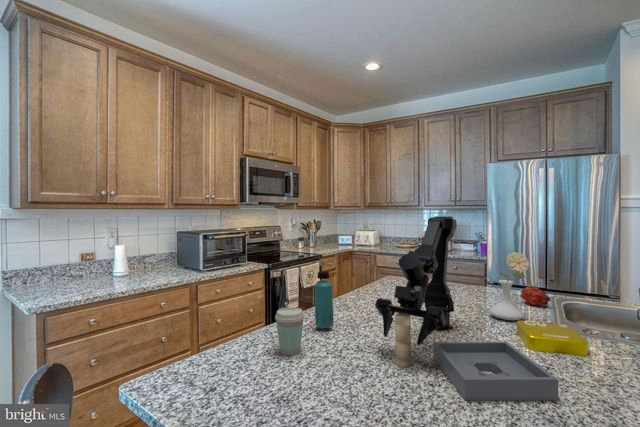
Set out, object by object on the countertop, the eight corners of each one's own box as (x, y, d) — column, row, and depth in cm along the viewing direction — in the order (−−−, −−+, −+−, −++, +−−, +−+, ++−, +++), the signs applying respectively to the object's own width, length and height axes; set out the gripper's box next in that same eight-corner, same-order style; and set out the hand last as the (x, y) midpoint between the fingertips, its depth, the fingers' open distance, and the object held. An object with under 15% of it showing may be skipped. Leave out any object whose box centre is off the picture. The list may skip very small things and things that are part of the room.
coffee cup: (308, 347, 98) (308, 308, 98) (297, 360, 90) (297, 316, 90) (283, 344, 101) (282, 305, 101) (270, 355, 93) (269, 314, 93)
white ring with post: (380, 301, 148) (380, 292, 148) (397, 303, 143) (397, 294, 143) (371, 305, 141) (371, 296, 141) (389, 308, 136) (388, 299, 136)
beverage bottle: (332, 332, 109) (331, 273, 109) (312, 331, 111) (312, 273, 110) (335, 326, 116) (334, 270, 115) (316, 325, 117) (316, 269, 117)
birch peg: (404, 359, 90) (404, 312, 89) (414, 365, 86) (413, 316, 86) (392, 361, 88) (392, 314, 88) (401, 368, 84) (400, 318, 84)
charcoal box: (433, 358, 90) (433, 341, 90) (506, 357, 90) (506, 341, 90) (464, 400, 70) (464, 379, 70) (558, 400, 70) (558, 379, 70)
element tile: (528, 351, 94) (528, 334, 94) (515, 332, 109) (515, 318, 108) (590, 358, 90) (590, 340, 89) (568, 337, 104) (568, 322, 104)
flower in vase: (491, 320, 119) (490, 252, 119) (487, 311, 129) (487, 249, 129) (532, 325, 114) (532, 254, 114) (525, 315, 125) (525, 250, 124)
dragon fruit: (521, 304, 144) (548, 316, 133) (511, 295, 141) (539, 306, 130) (530, 288, 145) (559, 299, 134) (521, 279, 141) (550, 289, 131)
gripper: (377, 270, 95) (359, 318, 87) (442, 277, 84) (429, 333, 76) (388, 291, 102) (372, 338, 93) (450, 301, 91) (439, 354, 82)
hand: (400, 340), depth 86 cm, fingers open, 9 cm apart
